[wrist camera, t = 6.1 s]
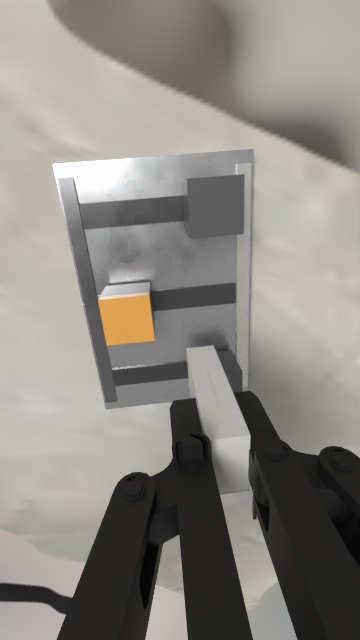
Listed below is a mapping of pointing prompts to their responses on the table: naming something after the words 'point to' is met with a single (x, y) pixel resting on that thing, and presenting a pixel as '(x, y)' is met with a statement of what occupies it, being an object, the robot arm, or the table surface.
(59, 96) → the table surface
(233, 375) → the breaker
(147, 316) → the block
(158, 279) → the panel
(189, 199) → the block
